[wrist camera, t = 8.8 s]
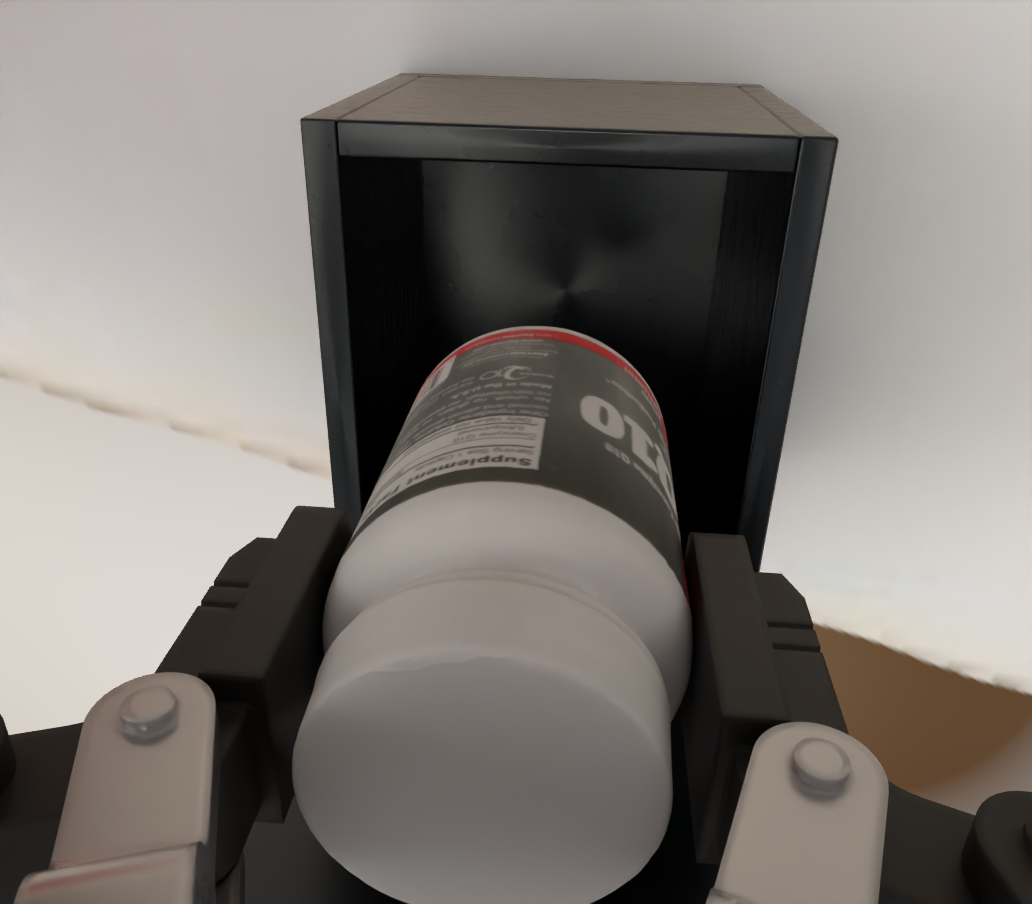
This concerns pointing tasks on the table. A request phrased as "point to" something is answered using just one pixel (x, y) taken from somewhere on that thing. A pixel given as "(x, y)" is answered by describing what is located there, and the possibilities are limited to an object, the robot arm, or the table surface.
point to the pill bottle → (505, 637)
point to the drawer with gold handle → (348, 900)
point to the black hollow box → (572, 257)
